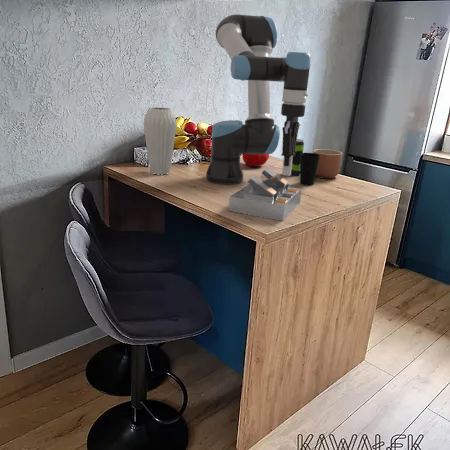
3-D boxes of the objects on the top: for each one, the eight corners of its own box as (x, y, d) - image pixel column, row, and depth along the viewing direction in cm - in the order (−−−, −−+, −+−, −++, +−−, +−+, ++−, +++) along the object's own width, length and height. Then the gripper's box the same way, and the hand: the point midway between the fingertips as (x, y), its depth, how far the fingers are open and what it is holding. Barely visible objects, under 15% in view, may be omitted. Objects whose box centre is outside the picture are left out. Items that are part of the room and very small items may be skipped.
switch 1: (254, 190, 151) (252, 185, 151) (258, 187, 155) (256, 182, 154) (278, 181, 147) (276, 175, 147) (281, 179, 150) (279, 173, 150)
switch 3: (261, 173, 156) (264, 169, 155) (264, 171, 159) (267, 167, 158) (282, 188, 155) (285, 184, 154) (285, 186, 158) (288, 182, 157)
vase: (154, 168, 198) (153, 105, 189) (181, 172, 194) (182, 108, 185) (137, 174, 187) (136, 108, 178) (166, 178, 182) (167, 111, 173)
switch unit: (228, 211, 147) (230, 192, 145) (251, 195, 166) (252, 177, 164) (282, 221, 141) (284, 200, 139) (300, 202, 160) (302, 184, 158)
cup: (316, 187, 182) (319, 157, 178) (297, 185, 183) (300, 155, 179) (316, 182, 189) (320, 153, 185) (297, 180, 190) (301, 151, 186)
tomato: (243, 162, 220) (244, 139, 216) (268, 164, 218) (270, 141, 215) (240, 168, 207) (241, 144, 204) (267, 170, 206) (269, 146, 202)
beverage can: (296, 172, 204) (300, 138, 199) (303, 175, 199) (306, 141, 194) (283, 172, 202) (287, 138, 197) (290, 176, 197) (293, 141, 192)
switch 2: (247, 182, 144) (250, 177, 143) (251, 180, 147) (254, 175, 146) (270, 199, 143) (273, 194, 142) (273, 196, 146) (277, 191, 145)
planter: (307, 177, 196) (310, 152, 192) (313, 171, 207) (316, 147, 203) (337, 181, 192) (340, 155, 188) (341, 175, 203) (344, 151, 199)
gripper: (300, 106, 140) (292, 180, 148) (309, 102, 151) (301, 172, 160) (276, 103, 142) (270, 177, 151) (287, 100, 154) (281, 169, 162)
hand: (286, 174), depth 155 cm, fingers closed
